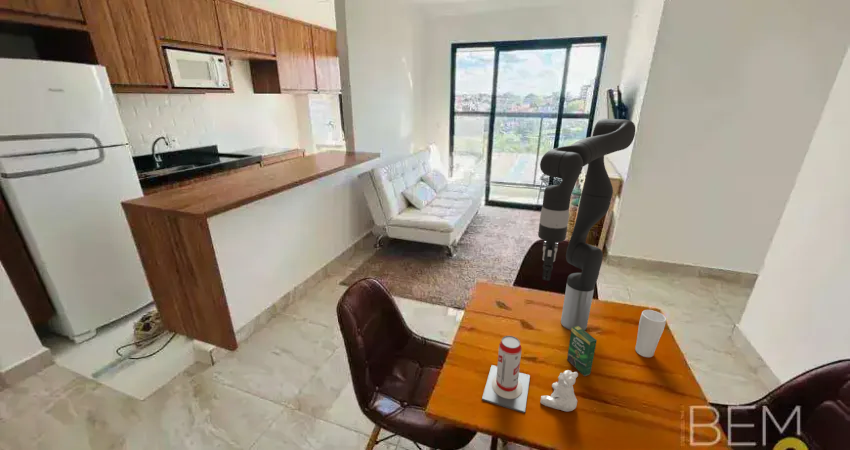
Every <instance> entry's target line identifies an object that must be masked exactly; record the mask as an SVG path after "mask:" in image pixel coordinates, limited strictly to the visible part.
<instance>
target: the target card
mask: <svg viewBox="0 0 850 450" xmlns="http://www.w3.org/2000/svg"><path fill="white" fill-rule="evenodd" d="M489 369H490V370H489V373H488V376H487V380H486V382H485V383H486V384H485V387H484V389H483V394H482V398H481V401H484V402H486V403H491V404H493V405H496V406H500V407H502V408H506V409H510V410H513V411H516V412H519V413H523V414H526V409H527V408H526V407H527V400H528V393H529V387H530V378H531V375H530V374H528V373H527V374H526V373H524V372H520V371H519V377H518V385H517V388H516V389H515V390H513V391H510V392H507V391H503V390H502V389H500V388H499V387H498V385H497V383H496V377H497V365H493V364H491V367H490V368H489Z"/></svg>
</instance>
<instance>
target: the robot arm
mask: <svg viewBox="0 0 850 450" xmlns="http://www.w3.org/2000/svg"><path fill="white" fill-rule="evenodd" d="M635 136H636V125H635V123H634V122H633V121H632V120H628V119H624V118H623V119H622V118H621V119H619V118H600V119H599V120H598V121H597V122H596V124H595V125H594V128H593V131H592V135H591V136H588V137H583V138H582V139H580V140H577V141H576V142H574V143H572V144H570V145H565V146H560V147H555V148H553V149H550V150H548V151H546V152H545V153H544V154H543V156H542V157H541V159H540V162H539V168H540V171H541V172H542V173H543V175H545V176H547V177H552V178H557V179H561V182H560V184H553V185H547V186H546V187H545V189H544V192H543V198H542V199H543V200H542V207H541V210H540V216H539V224H538V225H539V226H538V232H537V233H538V234H537V236H538V238H539V239H541V240H542V241H543V244H542V245H543V246H542V252H543V253H542V261H543V265H542V269H543V271H542V275H541V277H542V281H551V276H552V271H553V269H554V267H553V266H554V263H555V261H556V257H557V252H558V248H559V243H562V242H564V241H565V240H566V239H567V231H568V227H569V226H568V225H569V219H570V206H571V198H572V194H573V190H575V189H574V188H575V186H576V184H577V182H578V179H579V177H580V175H581V173H582V172H583V171H582V170H583V167H585V166H586V165H587V170H586V173H585V174H586V175H585V179H584V183H583V187H582V190H581V195H580V198H579V203H578V204H579V205H578V209H577V210H578V211H577V214H576V219H575V223H574V226H573V230H572V233H571V235H570V238H569V242H568V246H567V248H566V252H565V253H566V254H565V258H566V259H565V260H566V262H567V263H568V264H570V265H572V266H573V267H575V268H578V269H579V270H581V272H573V273H570V274H569V275H568V276H567V280H566V287H565V293H564V298H563V305H562V312H561V318H560V323H561V325H562V326H563V328H565V329H567V330H569V331H571V329H572V327H575V326H579V327H580V328H582V329H583V330H584V331H586V330H587V327H588V323H589V317H590V313H591V312H590V311H591V306H592V303H593V298H594V297H593V296H594V293H595V292H594V291H595V287H596V284H597V281H598V278H599V274H600V270H601V267H602V264H603V259H604V254H603V253H604V252H603V250H602V249H601V248H599V247H598V246H594V245H592V244H589V243H586V242H587V238H588V234H589V232H590V230H591V229H592V228H593V226H595V225H596V224H597V223H598V222H599V221H600V220H601V219H602V218H603V217H604V216H605V215H607V213H608V211H609V209H610V206H611V203H612V202H611V201H612V199H613V195H614V187H613V184H612V182H611V179H610V177H609V175H608V172H607V168H606V165H605V156H607V155H610V154H612V153H616V152H619V151H624V150H626V149H628V148H629V147H630V145H632V143H633V141H634V139H635Z"/></svg>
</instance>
